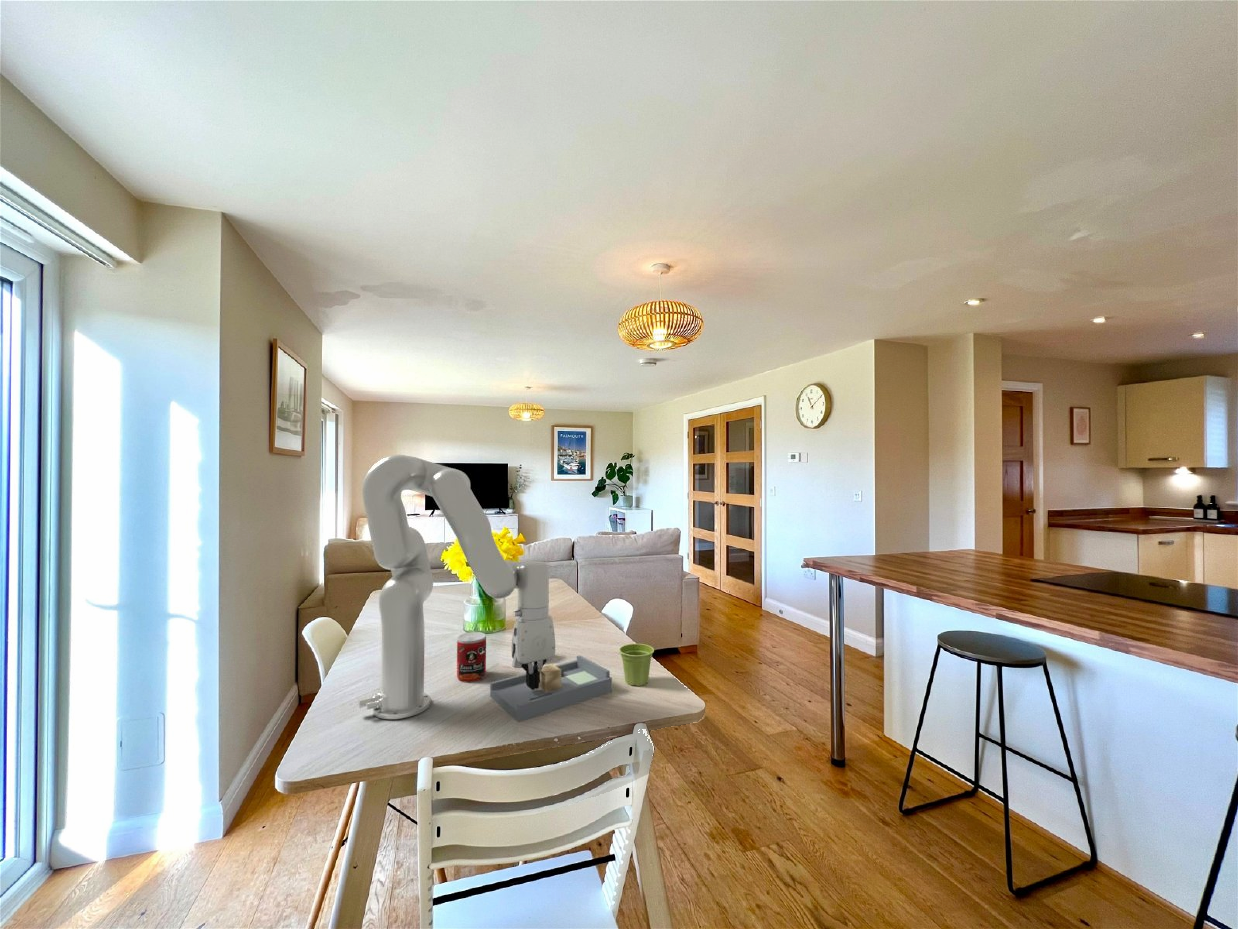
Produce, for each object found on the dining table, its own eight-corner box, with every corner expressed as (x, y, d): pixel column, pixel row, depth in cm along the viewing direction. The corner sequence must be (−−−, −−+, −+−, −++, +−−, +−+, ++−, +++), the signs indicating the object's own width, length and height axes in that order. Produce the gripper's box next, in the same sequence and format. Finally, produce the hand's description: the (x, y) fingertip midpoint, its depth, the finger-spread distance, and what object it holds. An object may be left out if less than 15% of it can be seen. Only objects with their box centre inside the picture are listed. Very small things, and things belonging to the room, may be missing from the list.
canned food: (456, 684, 133) (456, 642, 133) (457, 672, 141) (457, 633, 141) (486, 681, 135) (486, 639, 135) (485, 669, 143) (486, 631, 143)
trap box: (519, 721, 113) (519, 699, 113) (490, 696, 125) (490, 676, 126) (611, 691, 129) (611, 672, 129) (577, 672, 141) (577, 654, 141)
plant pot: (632, 692, 128) (632, 658, 129) (612, 679, 136) (612, 647, 136) (661, 684, 134) (661, 651, 134) (640, 672, 141) (640, 641, 142)
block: (545, 692, 123) (545, 674, 123) (536, 686, 127) (536, 668, 127) (561, 687, 126) (561, 669, 126) (552, 682, 130) (552, 664, 130)
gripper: (511, 621, 117) (511, 701, 116) (567, 611, 126) (566, 685, 125) (498, 614, 123) (498, 690, 122) (552, 604, 132) (551, 675, 131)
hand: (532, 687), depth 124 cm, fingers closed
